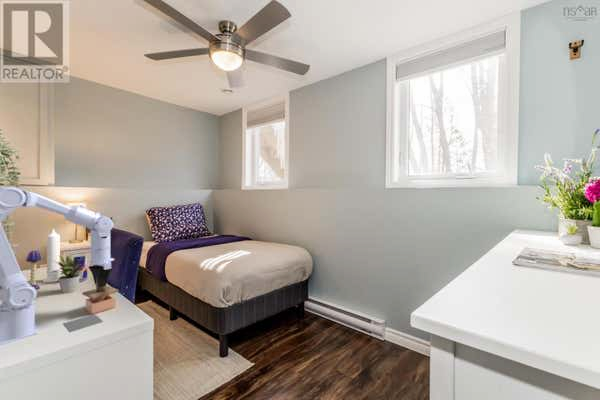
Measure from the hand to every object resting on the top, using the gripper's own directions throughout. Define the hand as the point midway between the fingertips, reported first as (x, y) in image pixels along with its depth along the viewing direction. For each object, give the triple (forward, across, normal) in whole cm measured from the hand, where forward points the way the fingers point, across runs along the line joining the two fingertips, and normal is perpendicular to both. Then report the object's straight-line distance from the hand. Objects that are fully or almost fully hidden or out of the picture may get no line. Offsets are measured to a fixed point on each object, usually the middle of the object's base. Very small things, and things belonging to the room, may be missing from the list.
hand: (100, 285), depth 96 cm
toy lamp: (+9, +46, +11) cm, 48 cm away
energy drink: (+9, +46, -5) cm, 47 cm away
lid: (+3, 0, 0) cm, 3 cm away
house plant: (+9, +33, +3) cm, 34 cm away
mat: (+9, -8, +7) cm, 14 cm away
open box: (+9, 0, 0) cm, 9 cm away
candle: (+9, +55, +3) cm, 56 cm away
